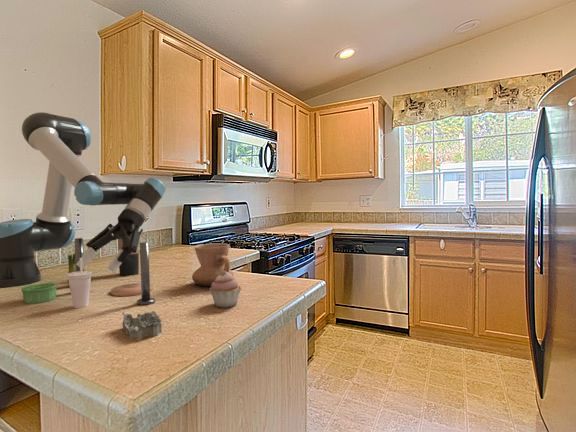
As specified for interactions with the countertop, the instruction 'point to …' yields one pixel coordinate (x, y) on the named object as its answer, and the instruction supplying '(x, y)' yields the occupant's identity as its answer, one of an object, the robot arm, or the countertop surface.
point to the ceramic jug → (211, 263)
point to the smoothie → (80, 287)
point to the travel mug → (129, 262)
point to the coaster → (128, 289)
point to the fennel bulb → (71, 264)
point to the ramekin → (39, 293)
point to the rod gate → (143, 263)
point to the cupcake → (225, 290)
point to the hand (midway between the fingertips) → (94, 268)
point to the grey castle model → (142, 325)
